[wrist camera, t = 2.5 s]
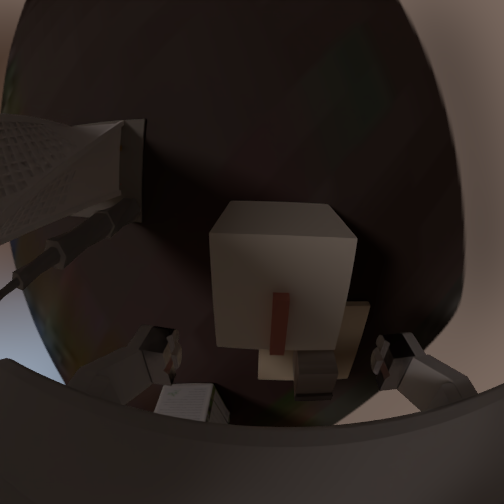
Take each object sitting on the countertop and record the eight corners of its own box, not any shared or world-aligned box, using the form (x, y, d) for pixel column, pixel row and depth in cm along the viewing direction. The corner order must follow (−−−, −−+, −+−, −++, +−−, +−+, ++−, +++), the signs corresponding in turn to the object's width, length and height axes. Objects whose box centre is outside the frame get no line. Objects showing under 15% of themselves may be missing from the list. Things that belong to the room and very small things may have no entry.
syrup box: (162, 382, 24) (116, 506, 11) (216, 381, 23) (185, 525, 10) (184, 413, 26) (154, 522, 13) (233, 413, 25) (216, 534, 12)
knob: (230, 200, 16) (205, 238, 10) (328, 204, 16) (361, 243, 10) (232, 286, 19) (214, 354, 13) (318, 289, 18) (336, 357, 12)
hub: (260, 299, 19) (257, 346, 15) (368, 301, 19) (389, 344, 14) (258, 374, 22) (254, 419, 18) (346, 373, 22) (356, 416, 17)
